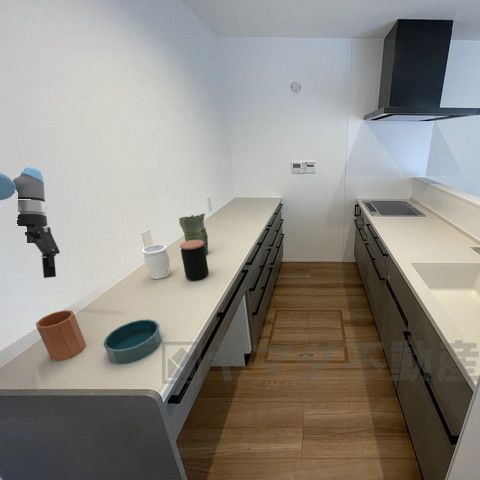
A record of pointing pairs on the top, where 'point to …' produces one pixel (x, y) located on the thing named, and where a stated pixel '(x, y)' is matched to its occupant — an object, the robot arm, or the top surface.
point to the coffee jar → (194, 259)
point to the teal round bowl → (133, 341)
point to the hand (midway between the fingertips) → (35, 279)
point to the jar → (157, 261)
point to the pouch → (194, 229)
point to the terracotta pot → (61, 335)
